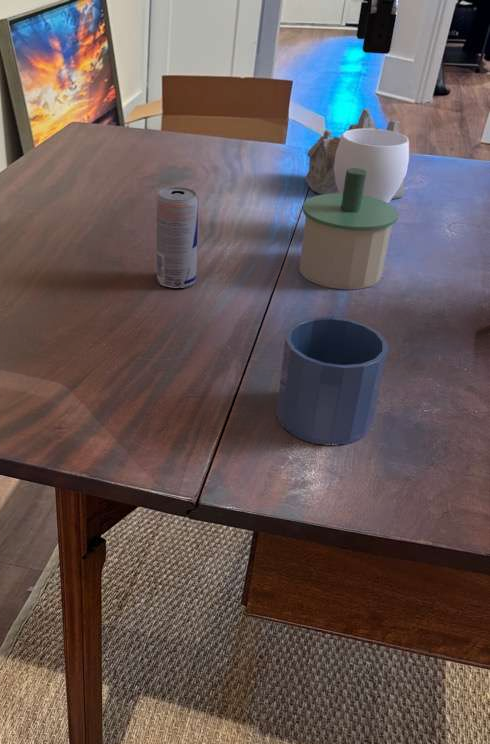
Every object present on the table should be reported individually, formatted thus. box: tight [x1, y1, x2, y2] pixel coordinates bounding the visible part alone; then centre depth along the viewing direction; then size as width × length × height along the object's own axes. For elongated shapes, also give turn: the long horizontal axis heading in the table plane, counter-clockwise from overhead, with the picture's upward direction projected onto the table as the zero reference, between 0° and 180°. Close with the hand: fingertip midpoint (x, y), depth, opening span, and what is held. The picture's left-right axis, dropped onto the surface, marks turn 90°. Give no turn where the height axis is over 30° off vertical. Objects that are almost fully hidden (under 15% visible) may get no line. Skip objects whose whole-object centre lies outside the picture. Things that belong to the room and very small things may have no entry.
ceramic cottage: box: [304, 107, 405, 200], centre depth 126 cm, size 16×16×15 cm
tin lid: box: [302, 168, 399, 230], centre depth 95 cm, size 13×13×6 cm
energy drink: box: [155, 186, 199, 288], centre depth 94 cm, size 5×5×12 cm
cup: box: [334, 128, 410, 204], centre depth 107 cm, size 11×11×15 cm
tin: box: [299, 215, 393, 290], centre depth 99 cm, size 12×12×8 cm
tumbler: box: [276, 316, 388, 446], centre depth 70 cm, size 10×10×9 cm
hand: (371, 45), depth 89 cm, fingers open, 9 cm apart
